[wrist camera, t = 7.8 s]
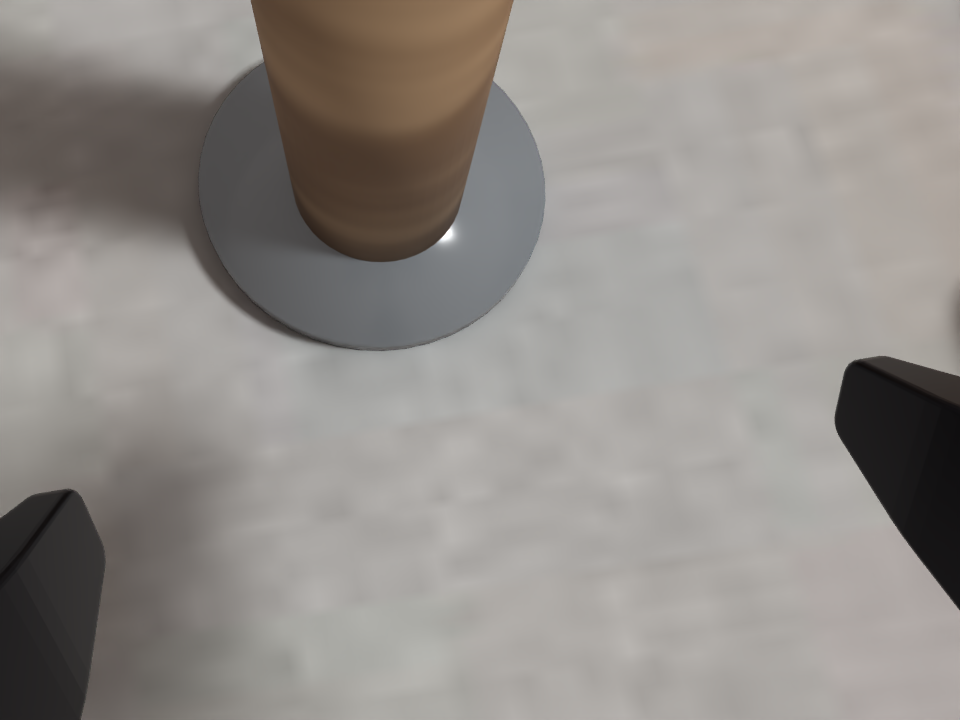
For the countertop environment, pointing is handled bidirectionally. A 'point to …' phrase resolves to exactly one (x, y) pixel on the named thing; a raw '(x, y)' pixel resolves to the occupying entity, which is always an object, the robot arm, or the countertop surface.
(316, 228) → the pepper mill
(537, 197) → the coaster
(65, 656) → the robot arm
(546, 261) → the countertop surface
